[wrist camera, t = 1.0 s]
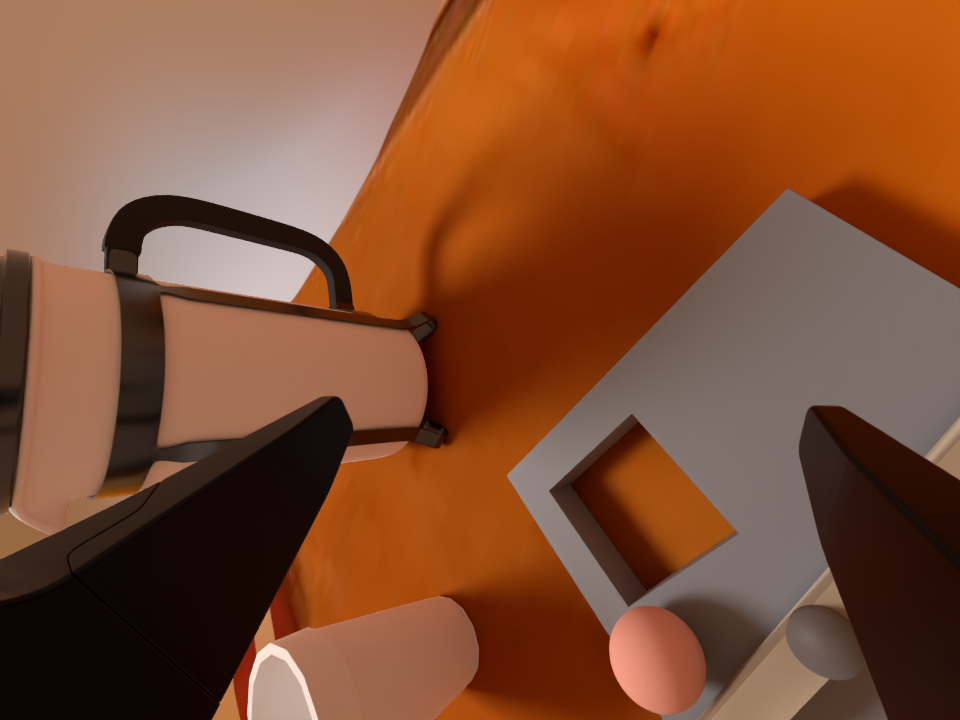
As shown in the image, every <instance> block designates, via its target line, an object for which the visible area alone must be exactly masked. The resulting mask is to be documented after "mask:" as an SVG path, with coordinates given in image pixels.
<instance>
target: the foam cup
mask: <svg viewBox="0 0 960 720" xmlns="http://www.w3.org/2000/svg"><path fill="white" fill-rule="evenodd" d="M478 663H479V646H478V642H477V638H476V634H475V630H474V626H473V625H472V623H471V621H470V619H469V618H468V616H467V614H466V613H465V611H464V609H463V608H462V607H461V606H459V605H458V604H457V603H456V602H455V601H454V600H452V599H451V598H448V597H442V596H437V597H435V598H433V597H431V598H428V599H424V600H420V601H416V602H413V603H409V604H405V605H402V606H398V607H394V608H390V609H387V610H383V611H379V612H376V613H372V614H368V615H365V616H361V617H357V618H353V619H350V620H346V621H342V622H339V623H335V624H331V625H327V626H324V627H320V628H316V629H312V628H309V627H307V628H305V629H302V630H300V631H298V632H295V633H293V634H290V635H288V636H286V637H283V638H281V639H278V640H276V641H274V642H271V643H270V644H268V645H267V646H266V647H265V648H263V649H262V650H261V651H260V652H259V653H257V656H256V659H255V663H254V666H253V669H252V672H251V675H250V679H249V695H248V712H247V714H248V720H435V719H436V718H437V717H438V716H439V715H440V714H441V713H442V712H443V711H444V710H445V709H446V707H447V706H448V705H449V704H450V703H451V702H452V701H453V700H454V699H455V698H456V697H457V696H458V695H459V694H460V693H461V692H462V691H463V690H464V689H465V688H466V687H467V685H468V684H469V683H470V682H471V681H472V679H473V677H474V675H475V673H476V671H477V669H478Z"/></svg>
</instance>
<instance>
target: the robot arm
mask: <svg viewBox="0 0 960 720" xmlns="http://www.w3.org/2000/svg"><path fill="white" fill-rule="evenodd" d="M352 434H353V423H352V421H351V418H350V416H349V414H348V412H347V409H346V407H345V405H344V403H343V401H342V399H340V398H339V397H337V396H322V397H319V398H317V399H315V400H314V401H312V402H310V403H308V404H306V405H304V406H302V407H300V408H298V409H296V410H295V411H293V412H291V413H289V414H287V415H285V416H283V417H281V418H279V419H277V420H276V421H274V422H272V423H270V424H268V425H266V426H264V427H262V428H260V429H258V430H256V431H255V432H253V433H251V434H249V435H247V436H245V437H243V438H241V439H239V440H237V441H236V442H234V443H232V444H230V445H228V446H226V447H224V448H222V449H220V450H218V451H217V452H215V453H213V454H211V455H209V456H207V457H205V458H203V459H201V460H199V461H198V462H196V463H194V464H192V465H190V466H188V467H186V468H184V469H182V470H180V471H178V472H177V473H175V474H173V475H171V476H169V477H167V478H165V479H163V480H162V482H157V483H156V484H154V485H152V486H150V487H148V488H146V489H144V490H142V491H140V492H139V493H136V494H134V495H133V496H131V497H129V498H127V499H125V500H123V501H121V502H119V503H117V504H115V505H113V506H111V507H109V508H107V509H105V510H103V511H101V512H99V513H97V514H95V515H93V516H91V517H89V518H86V519H84V520H82V521H80V522H78V523H76V524H74V525H72V526H70V527H68V528H66V529H64V530H61V531H59V532H57V533H55V534H53V535H51V536H49V537H47V538H45V539H43V540H41V541H39V542H36V543H34V544H32V545H30V546H28V547H26V548H24V549H22V550H20V551H17V552H15V553H14V554H11V555H9V556H7V557H5V558H3V559H0V720H212V719H213V717H214V715H215V713H216V711H217V709H218V707H219V705H220V703H219V702H220V701H221V700H222V698H223V696H224V694H225V693H226V691H227V689H228V687H229V685H230V683H231V681H232V679H233V677H234V675H235V673H236V671H237V669H238V667H239V666H240V664H241V662H242V660H243V658H244V656H245V654H246V652H247V650H248V648H249V646H250V644H251V642H252V640H253V638H254V636H255V635H256V633H257V631H258V629H259V626H260V625H261V623H262V621H263V619H264V617H265V615H266V613H267V611H268V609H269V607H270V606H271V604H272V602H273V600H274V598H275V596H276V594H277V592H278V590H279V588H280V586H281V584H282V582H283V580H284V578H285V577H286V575H287V573H288V571H289V569H290V567H291V565H292V563H293V561H294V559H295V557H296V555H297V553H298V551H299V549H300V547H301V546H302V544H303V542H304V540H305V538H306V536H307V534H308V532H309V530H310V528H311V526H312V524H313V522H314V520H315V518H316V517H317V515H318V513H319V511H320V509H321V507H322V505H323V503H324V501H325V499H326V497H327V495H328V493H329V491H330V488H331V486H332V484H333V481H334V479H335V476H336V474H337V471H338V469H339V466H340V464H341V461H342V459H343V456H344V454H345V451H346V449H347V446H348V444H349V441H350V439H351V436H352ZM799 458H800V462H801V466H802V470H803V475H804V479H805V483H806V487H807V491H808V495H809V499H810V503H811V508H812V512H813V516H814V520H815V524H816V528H817V532H818V536H819V539H820V543H821V546H822V549H823V552H824V555H825V558H826V560H827V563H828V566H829V568H830V571H831V573H832V576H833V579H834V581H835V584H836V586H837V589H838V592H839V594H840V597H841V599H842V602H843V605H844V607H845V610H846V612H847V615H848V618H849V620H850V623H851V626H852V628H853V631H854V633H855V636H856V639H857V641H858V644H859V646H860V649H861V652H862V654H863V657H864V659H865V662H866V665H867V667H868V670H869V672H870V675H871V678H872V680H873V683H874V685H875V688H876V691H877V693H878V696H879V698H880V701H881V704H882V706H883V709H884V711H885V714H886V717H887V719H888V720H960V480H959V479H958V478H956V477H955V476H953V475H951V474H950V473H948V472H947V471H945V470H943V469H942V468H940V467H939V466H937V465H936V464H934V463H932V462H931V461H929V460H928V459H926V458H924V457H923V456H921V455H920V454H918V453H916V452H915V451H913V450H912V449H910V448H908V447H907V446H905V445H904V444H902V443H900V442H899V441H897V440H896V439H894V438H892V437H891V436H889V435H888V434H886V433H884V432H883V431H881V430H880V429H878V428H876V427H875V426H873V425H872V424H870V423H868V422H867V421H865V420H864V419H862V418H860V417H859V416H857V415H856V414H854V413H852V412H851V411H849V410H848V409H846V408H844V407H842V406H832V405H813V406H811V407H809V409H808V410H807V412H806V416H805V420H804V424H803V428H802V432H801V437H800V441H799Z"/></svg>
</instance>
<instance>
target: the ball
mask: <svg viewBox="0 0 960 720" xmlns="http://www.w3.org/2000/svg"><path fill="white" fill-rule="evenodd" d="M609 653H610V661H611V665H612V669H613V671H614V674H615V676H616V679H617V680H618V682H619V684H620V686H621V687H622V689H623V690H624V691H625V692H626V694H627V695H628V696H629V697H630V698H631V699H632V700H633V701H634V702H636V703H637V704H638V705H640V706H641V707H643V708H645V709H647V710H649V711H651V712H654V713H657V714H662V715H673V714H678V713H681V712H684V711H686V710H687V709H689V708H690V707H692V706H693V705H694V704H695V703H696V702H697V700H698V699H699V697H700V696H701V694H702V692H703V689H704V686H705V682H706V662H705V657H704V653H703V650H702V648H701V645H700V643H699V641H698V639H697V637H696V636H695V634H694V633H693V631H692V630H691V629H690V628H689V626H688V625H687V624H686V623H685V622H684V621H683V620H682V619H680V618H679V617H678V616H676V615H675V614H673V613H671V612H670V611H667V610H665V609H663V608H659V607H655V606H640V607H637V608H633V609H631V610H629V611H628V612H626V613H625V614H624V615H622V616H621V618H620V619H619V620H618V621H617V623H616V624H615V626H614V628H613V631H612V633H611V638H610V644H609Z"/></svg>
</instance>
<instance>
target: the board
mask: <svg viewBox="0 0 960 720" xmlns="http://www.w3.org/2000/svg"><path fill="white" fill-rule="evenodd" d="M813 405H832V406H842V407H844V408H846V409H848V410H849V411H851V412H852V413H854V414H856V415H857V416H859V417H860V418H862V419H864V420H865V421H867V422H868V423H870V424H872V425H873V426H875V427H876V428H878V429H880V430H881V431H883V432H884V433H886V434H888V435H889V436H891V437H892V438H894V439H896V440H897V441H899V442H900V443H902V444H904V445H905V446H907V447H908V448H910V449H912V450H913V451H915V452H916V453H918V454H920V455H921V456H923V457H925V456H926V454H927V453H928V452H929V451H930V450H931V449H932V448H933V446H934V445H935V444H936V443H937V442H938V441H939V440H940V438H941V437H942V436H943V435H944V434H945V433H946V432H947V430H948V429H949V428H950V427H951V426H952V425H953V423H954V422H955V421H956V420H957V419H958V418H959V417H960V289H959V288H958V287H956V286H954V285H953V284H951V283H949V282H947V281H946V280H944V279H942V278H941V277H939V276H937V275H935V274H934V273H932V272H930V271H929V270H927V269H925V268H924V267H922V266H920V265H918V264H917V263H915V262H913V261H912V260H910V259H908V258H906V257H905V256H903V255H901V254H900V253H898V252H896V251H894V250H893V249H891V248H889V247H888V246H886V245H884V244H883V243H881V242H879V241H877V240H876V239H874V238H872V237H871V236H869V235H867V234H865V233H864V232H862V231H860V230H859V229H857V228H855V227H854V226H852V225H850V224H848V223H847V222H845V221H843V220H842V219H840V218H838V217H836V216H835V215H833V214H831V213H830V212H828V211H826V210H824V209H823V208H821V207H819V206H818V205H816V204H814V203H813V202H811V201H809V200H807V199H806V198H804V197H802V196H801V195H799V194H797V193H795V192H794V191H792V190H790V189H789V188H787V189H786V190H785V191H784V192H783V193H782V194H781V195H780V196H779V197H778V198H777V199H776V200H775V201H774V202H773V203H772V205H771V206H770V207H769V208H768V209H767V210H766V211H765V212H764V213H763V214H762V215H761V216H760V217H759V218H758V219H757V220H756V221H755V222H754V223H753V224H752V225H751V226H750V227H749V228H748V229H747V230H746V231H745V232H744V233H743V234H742V235H741V236H740V237H739V238H738V239H737V240H736V241H735V242H734V243H733V244H732V245H731V247H730V248H729V249H728V250H727V251H726V252H725V253H724V254H723V255H722V256H721V257H720V258H719V259H718V260H717V261H716V262H715V263H714V264H713V265H712V266H711V267H710V268H709V269H708V270H707V271H706V272H705V273H704V274H703V275H702V276H701V277H700V278H699V279H698V280H697V281H696V282H695V283H694V284H693V285H692V286H691V287H690V288H689V290H688V291H687V292H686V293H685V294H684V295H683V296H682V297H681V298H680V299H679V300H678V301H677V302H676V303H675V304H674V305H673V306H672V307H671V308H670V309H669V310H668V311H667V312H666V313H665V314H664V315H663V316H662V317H661V318H660V319H659V320H658V321H657V322H656V323H655V324H654V325H653V326H652V327H651V328H650V329H649V330H648V332H647V333H646V334H645V335H644V336H643V337H642V338H641V339H640V340H639V341H638V342H637V343H636V344H635V345H634V346H633V347H632V348H631V349H630V350H629V351H628V352H627V353H626V354H625V355H624V356H623V357H622V358H621V359H620V360H619V361H618V362H617V363H616V364H615V365H614V366H613V367H612V368H611V369H610V370H609V371H608V372H607V373H606V375H605V376H604V377H603V378H602V379H601V380H600V381H599V382H598V383H597V384H596V385H595V386H594V387H593V388H592V389H591V390H590V391H589V392H588V393H587V394H586V395H585V396H584V397H583V398H582V399H581V400H580V401H579V402H578V403H577V404H576V405H575V406H574V407H573V408H572V409H571V410H570V411H569V412H568V413H567V414H566V415H565V417H564V418H563V419H562V420H561V421H560V422H559V423H558V424H557V425H556V426H555V427H554V428H553V429H552V430H551V431H550V432H549V433H548V434H547V435H546V436H545V437H544V438H543V439H542V440H541V441H540V442H539V443H538V444H537V445H536V446H535V447H534V448H533V449H532V450H531V451H530V452H529V453H528V454H527V455H526V456H525V457H524V458H523V460H522V461H521V462H520V463H519V464H518V465H517V466H516V467H515V468H514V469H513V470H512V471H511V472H510V473H509V474H508V475H507V477H508V479H509V480H510V482H511V483H512V485H513V486H514V488H515V490H516V491H517V493H518V494H519V496H520V497H521V499H522V501H523V502H524V504H525V505H526V507H527V508H528V510H529V511H530V513H531V515H532V516H533V518H534V519H535V521H536V522H537V524H538V526H539V527H540V529H541V530H542V532H543V533H544V535H545V536H546V538H547V540H548V541H549V543H550V544H551V546H552V547H553V549H554V550H555V552H556V554H557V555H558V557H559V558H560V560H561V561H562V563H563V565H564V566H565V568H566V569H567V571H568V572H569V574H570V575H571V577H572V579H573V580H574V582H575V583H576V585H577V586H578V588H579V590H580V591H581V593H582V594H583V596H584V597H585V599H586V600H587V602H588V604H589V605H590V607H591V608H592V610H593V611H594V613H595V614H596V616H597V618H598V619H599V621H600V622H601V624H602V625H603V627H604V629H605V630H606V632H607V633H608V635H609V636H610V638H611V633H612V631H613V628H614V626H615V624H616V623H617V621H618V620H619V619H620V618H621V616H622V615H624V614H625V613H626V612H628V611H629V610H631V609H633V608H637V607H640V606H655V607H659V608H663V609H665V610H667V611H670V612H671V613H673V614H675V615H676V616H678V617H679V618H680V619H682V620H683V621H684V622H685V623H686V624H687V625H688V626H689V628H690V629H691V630H692V631H693V633H694V634H695V636H696V637H697V639H698V641H699V643H700V645H701V648H702V650H703V653H704V657H705V662H706V682H705V686H704V689H703V692H702V694H701V696H700V697H699V699H698V700H697V702H696V703H695V704H694V705H693V706H692V707H690V708H689V709H687V710H686V711H684V712H681V713H678V714H673V715H662V714H660V716H661V718H662V719H663V720H696V719H697V718H698V716H699V715H700V714H701V713H702V712H703V711H704V709H705V708H706V707H707V706H708V705H709V704H710V703H711V701H712V700H713V699H714V698H715V697H716V696H717V695H718V693H719V692H720V691H721V690H722V689H723V688H724V686H725V685H726V684H727V683H728V682H729V681H730V680H731V678H732V677H733V676H734V675H735V674H736V673H737V672H738V670H739V669H740V668H741V667H742V666H743V665H744V664H745V662H746V661H747V660H748V659H749V658H750V657H751V655H752V654H753V653H754V652H755V651H756V650H757V649H758V647H759V646H760V645H761V644H762V643H763V642H764V641H765V639H766V638H767V637H768V636H769V635H770V634H771V633H772V631H773V630H774V629H775V628H776V627H777V626H778V624H779V623H780V622H781V621H782V620H783V619H784V618H785V616H786V615H787V614H788V613H789V612H790V611H791V610H792V608H793V607H794V606H795V605H796V604H797V603H798V601H799V600H800V599H801V598H802V597H803V596H804V595H805V593H806V592H807V591H808V590H809V589H810V588H811V587H812V585H813V584H814V583H815V582H816V581H817V580H818V579H819V577H820V576H821V575H822V574H823V573H824V572H825V570H826V569H827V568H828V567H829V566H828V563H827V560H826V558H825V555H824V552H823V549H822V546H821V543H820V539H819V536H818V532H817V528H816V524H815V520H814V516H813V512H812V508H811V503H810V499H809V495H808V491H807V487H806V483H805V479H804V475H803V470H802V466H801V462H800V458H799V441H800V437H801V432H802V428H803V424H804V420H805V416H806V412H807V410H808V409H809V407H811V406H813ZM638 422H640V423H641V424H642V426H643V427H644V428H645V429H646V430H647V431H648V432H649V433H650V435H651V436H652V437H653V438H654V439H655V440H656V441H657V442H658V444H659V445H660V446H661V447H662V448H663V449H664V450H665V451H666V453H667V454H668V455H669V456H670V457H671V458H672V459H673V460H674V462H675V463H676V464H677V465H678V466H679V467H680V468H681V469H682V470H683V472H684V473H685V474H686V475H687V476H688V477H689V478H690V479H691V481H692V482H693V483H694V484H695V485H696V486H697V487H698V488H699V490H700V491H701V492H702V493H703V494H704V495H705V496H706V497H707V499H708V500H709V501H710V502H711V503H712V504H713V505H714V506H715V508H716V509H717V510H718V511H719V512H720V513H721V514H722V515H723V517H724V518H725V519H726V520H727V521H728V522H729V523H730V524H731V526H732V527H733V528H734V529H735V530H736V532H734V533H733V534H731V535H730V536H728V537H727V538H725V539H724V540H722V541H721V542H719V543H718V544H716V545H715V546H713V547H712V548H710V549H709V550H707V551H706V552H704V553H703V554H701V555H700V556H698V557H697V558H695V559H694V560H692V561H691V562H689V563H688V564H686V565H685V566H683V567H682V568H680V569H679V570H677V571H676V572H674V573H673V574H671V575H670V576H668V577H667V578H665V579H664V580H662V581H661V582H659V583H658V584H656V585H655V586H653V587H652V588H650V589H649V590H647V591H646V589H645V588H644V586H643V585H642V584H641V582H640V581H639V580H638V578H637V577H636V575H635V574H634V573H633V571H632V570H631V568H630V567H629V566H628V564H627V563H626V561H625V560H624V559H623V557H622V556H621V555H620V553H619V552H618V550H617V549H616V548H615V546H614V545H613V543H612V542H611V541H610V539H609V538H608V536H607V535H606V534H605V532H604V531H603V530H602V528H601V527H600V525H599V524H598V523H597V521H596V520H595V518H594V517H593V516H592V514H591V513H590V511H589V510H588V509H587V507H586V506H585V505H584V503H583V502H582V500H581V499H580V498H579V496H578V495H577V493H576V492H575V491H574V489H573V488H572V486H571V485H570V484H571V483H572V482H573V481H574V480H576V479H577V478H578V477H579V476H580V475H581V474H582V473H583V472H584V471H585V470H586V469H588V468H589V467H590V466H591V465H592V464H593V463H594V462H595V461H596V460H597V459H599V458H600V457H601V456H602V455H603V454H604V453H605V452H606V451H607V450H608V449H610V448H611V447H612V446H613V445H614V444H615V443H616V442H617V441H618V440H619V439H621V438H622V437H623V436H624V435H625V434H626V433H627V432H628V431H629V430H630V429H632V428H633V427H634V426H635V425H636V424H637V423H638ZM790 720H888V719H887V717H886V714H885V711H884V709H883V706H882V704H881V701H880V698H879V696H878V693H877V691H876V688H875V685H874V683H873V680H872V678H871V675H870V672H869V670H868V667H867V665H866V662H865V659H864V665H863V668H862V670H861V671H860V673H859V674H858V675H856V676H855V677H853V678H851V679H848V680H832V679H829V680H828V681H827V682H826V683H825V684H824V685H823V686H822V687H821V688H820V689H819V690H818V691H817V692H816V693H815V694H814V695H813V696H812V697H811V698H810V700H809V701H808V702H807V703H806V704H805V705H804V706H803V707H802V708H801V709H800V710H799V711H798V712H797V713H796V714H795V715H794V716H793V717H792V718H791V719H790Z"/></svg>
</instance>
